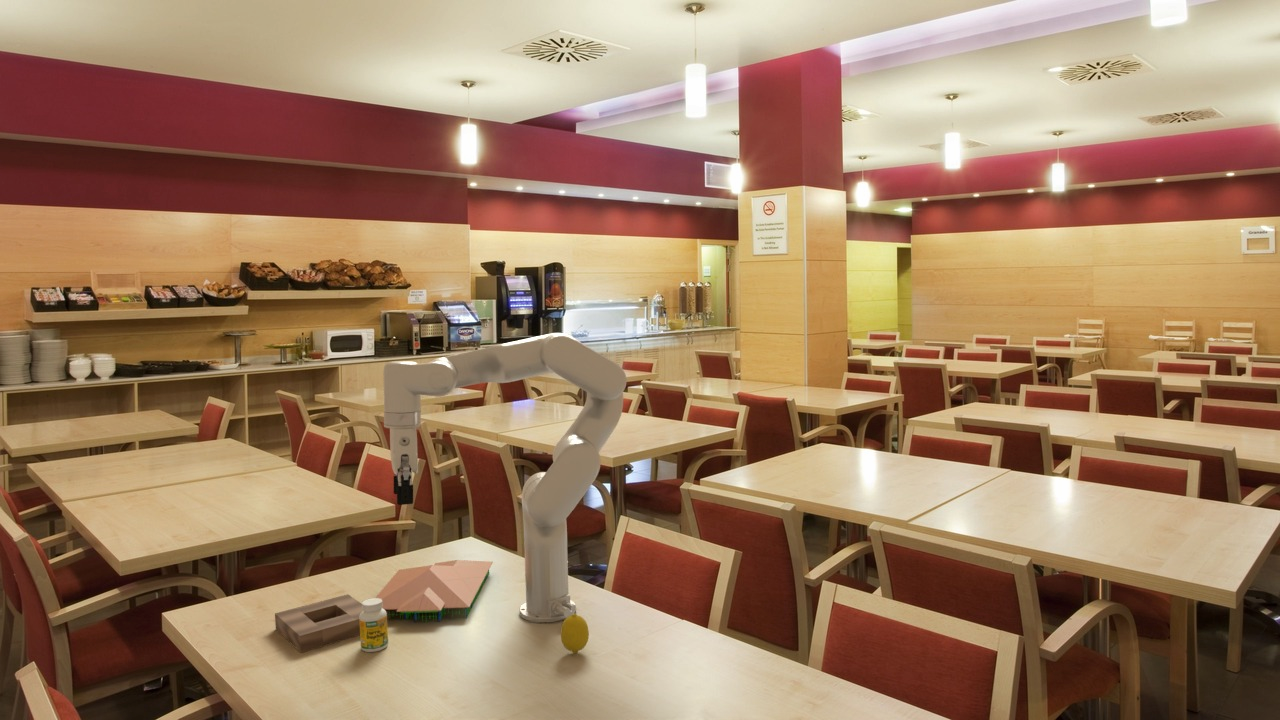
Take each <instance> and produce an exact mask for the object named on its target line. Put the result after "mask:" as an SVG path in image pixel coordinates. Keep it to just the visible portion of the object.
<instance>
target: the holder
mask: <svg viewBox="0 0 1280 720" xmlns="http://www.w3.org/2000/svg"><path fill="white" fill-rule="evenodd" d="M361 612H363V610H362V602H360V601H358V600H357V599H356V598H354V596H353V597H352V596H351V595H350V594H349V593H348V594H344V595H340V596H336V597H332V598H329V599H328V598H327V599H324V600H321V601H318V602H312V603H310V604H306V605H305V604H304V605H302V606H299V607H295V608H290V609H286V610H283V611H279V612H276V613H275V612H274V621H275V622H274V623H275V630H276V629H277V630H278V631H279V632H280V633H281V634H280V633H279V632H278V631H277V630H276V631H277V632H278V633H279V634H280V635H281V636H283V638H285V640H287V641H288V642H289V643H290V642H291V643H292V644H291V643H290V644H291V645H292V646H293V645H294V646H295V647H296V648H297V649H296V648H295V647H294V646H293V647H294V648H295V649H296V650H298V652H300V653H305V652H308V651H311V650H314V648H315V649H318V648H321V647H325V646H329V645H331V644H334V643H338V642H340V641H343V640H344V641H345V640H348V639H350V638H351V639H352V638H354V637H358V636H360V624H359V616H360V614H361ZM324 645H325V646H324ZM317 647H318V648H317ZM304 651H305V652H304Z"/></svg>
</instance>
